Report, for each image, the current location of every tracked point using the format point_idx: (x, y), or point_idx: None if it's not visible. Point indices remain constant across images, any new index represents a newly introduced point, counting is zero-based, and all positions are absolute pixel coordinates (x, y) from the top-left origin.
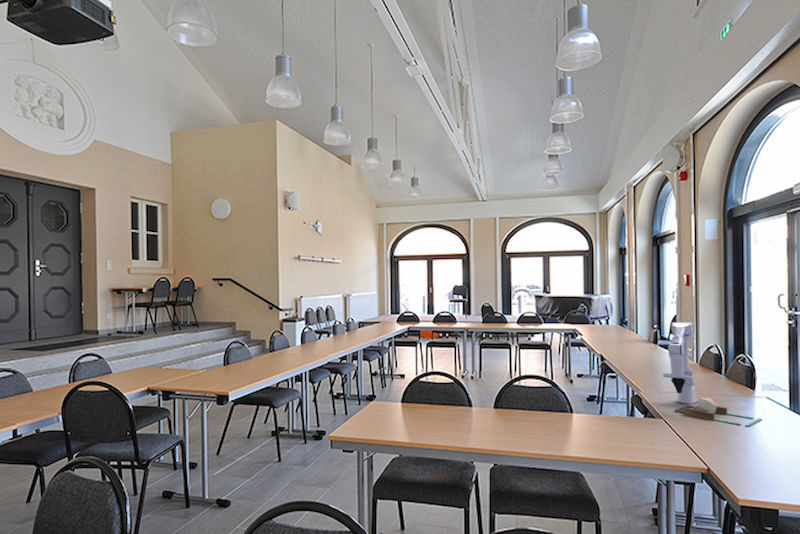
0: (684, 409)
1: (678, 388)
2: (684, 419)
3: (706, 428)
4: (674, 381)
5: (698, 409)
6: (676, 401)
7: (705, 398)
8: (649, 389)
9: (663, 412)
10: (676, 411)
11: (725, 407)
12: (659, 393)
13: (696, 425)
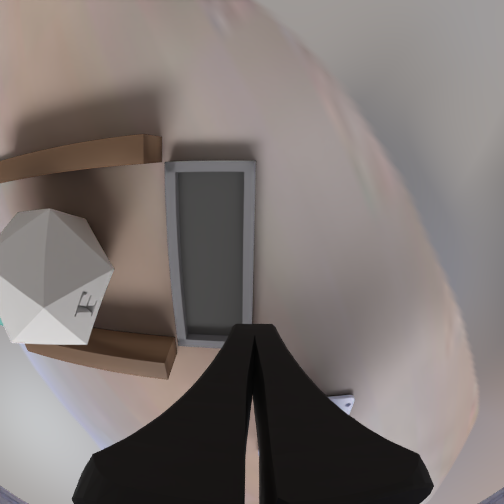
0: (145, 134)
1: (234, 360)
2: (115, 28)
3: (11, 16)
4: (316, 472)
5: (88, 235)
6: (345, 395)
7: (19, 321)
8: (461, 439)
9: (309, 75)
10: (241, 160)
11: (32, 351)
12: (432, 435)
13: (44, 6)
